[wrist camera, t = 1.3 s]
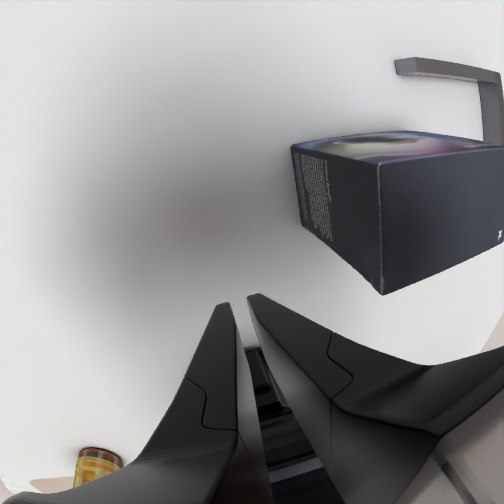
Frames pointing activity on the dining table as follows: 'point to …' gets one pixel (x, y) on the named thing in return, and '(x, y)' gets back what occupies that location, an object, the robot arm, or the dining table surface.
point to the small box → (401, 201)
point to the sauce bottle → (95, 465)
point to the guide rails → (491, 94)
